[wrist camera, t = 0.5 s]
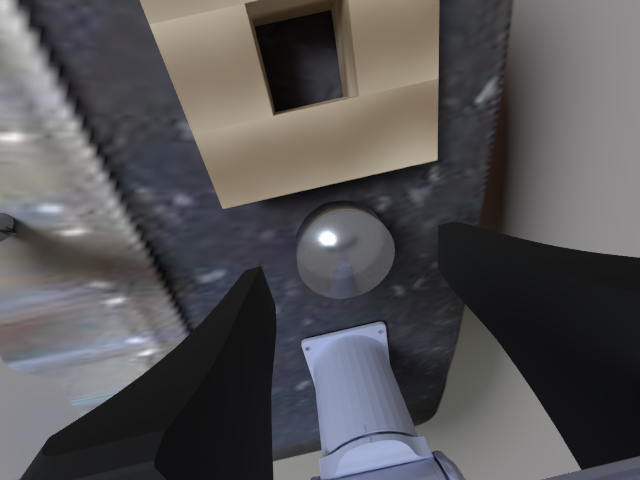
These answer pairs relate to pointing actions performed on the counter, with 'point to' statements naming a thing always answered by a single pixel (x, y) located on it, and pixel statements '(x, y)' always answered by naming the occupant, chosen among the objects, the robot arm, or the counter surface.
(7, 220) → the mechanical component
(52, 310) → the counter surface
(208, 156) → the block
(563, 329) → the robot arm
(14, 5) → the counter surface
